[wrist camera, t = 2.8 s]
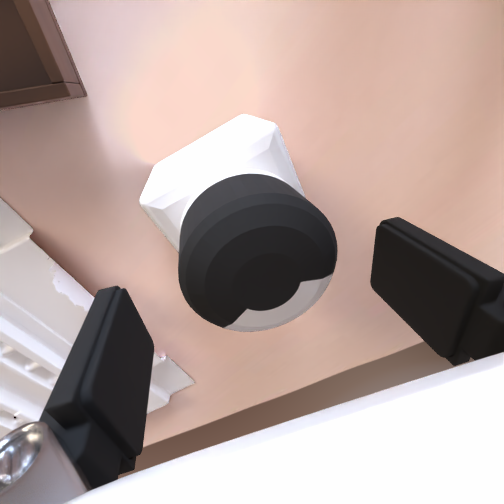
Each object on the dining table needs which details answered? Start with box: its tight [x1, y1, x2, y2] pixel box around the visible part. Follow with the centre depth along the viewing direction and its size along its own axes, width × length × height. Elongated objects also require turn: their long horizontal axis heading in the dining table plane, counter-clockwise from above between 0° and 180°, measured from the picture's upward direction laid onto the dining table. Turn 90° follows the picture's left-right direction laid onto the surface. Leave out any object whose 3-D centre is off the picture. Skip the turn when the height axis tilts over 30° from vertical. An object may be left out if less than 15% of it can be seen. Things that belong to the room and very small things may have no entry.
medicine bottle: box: [140, 114, 337, 332], centre depth 14 cm, size 7×7×12 cm
